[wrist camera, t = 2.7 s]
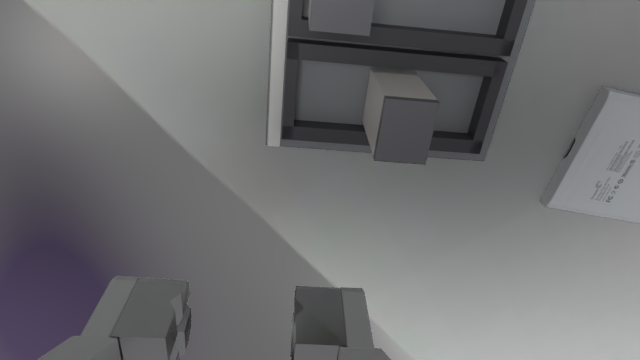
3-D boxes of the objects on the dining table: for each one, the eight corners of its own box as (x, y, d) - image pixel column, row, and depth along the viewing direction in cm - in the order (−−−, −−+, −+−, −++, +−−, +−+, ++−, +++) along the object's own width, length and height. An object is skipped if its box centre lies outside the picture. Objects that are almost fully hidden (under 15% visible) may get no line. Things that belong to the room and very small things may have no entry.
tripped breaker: (415, 71, 23) (440, 103, 19) (404, 124, 24) (425, 164, 20) (370, 67, 23) (385, 98, 19) (362, 121, 24) (374, 160, 20)
